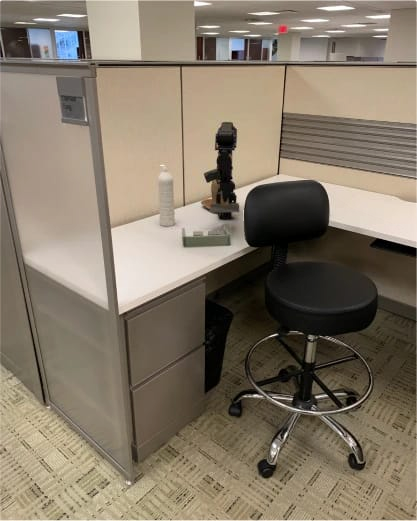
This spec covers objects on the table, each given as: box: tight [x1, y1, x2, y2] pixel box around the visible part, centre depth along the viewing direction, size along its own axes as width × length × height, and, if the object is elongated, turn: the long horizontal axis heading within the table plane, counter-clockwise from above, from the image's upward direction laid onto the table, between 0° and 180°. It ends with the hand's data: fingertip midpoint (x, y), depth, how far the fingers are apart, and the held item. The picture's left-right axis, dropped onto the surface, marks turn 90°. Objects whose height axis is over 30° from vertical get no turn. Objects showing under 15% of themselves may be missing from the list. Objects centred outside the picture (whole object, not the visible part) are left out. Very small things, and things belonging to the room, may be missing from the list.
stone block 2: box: [207, 229, 221, 235], centre depth 162 cm, size 4×4×4 cm
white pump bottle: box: [157, 164, 176, 227], centre depth 177 cm, size 9×6×25 cm
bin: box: [181, 226, 231, 248], centre depth 162 cm, size 10×18×4 cm, turn 96°
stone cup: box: [200, 178, 219, 210], centre depth 198 cm, size 15×12×15 cm
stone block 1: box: [192, 230, 204, 236], centre depth 161 cm, size 4×4×4 cm
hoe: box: [209, 191, 240, 214], centre depth 171 cm, size 3×12×9 cm, turn 94°
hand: (224, 200), depth 171 cm, fingers closed on hoe, 3 cm apart
